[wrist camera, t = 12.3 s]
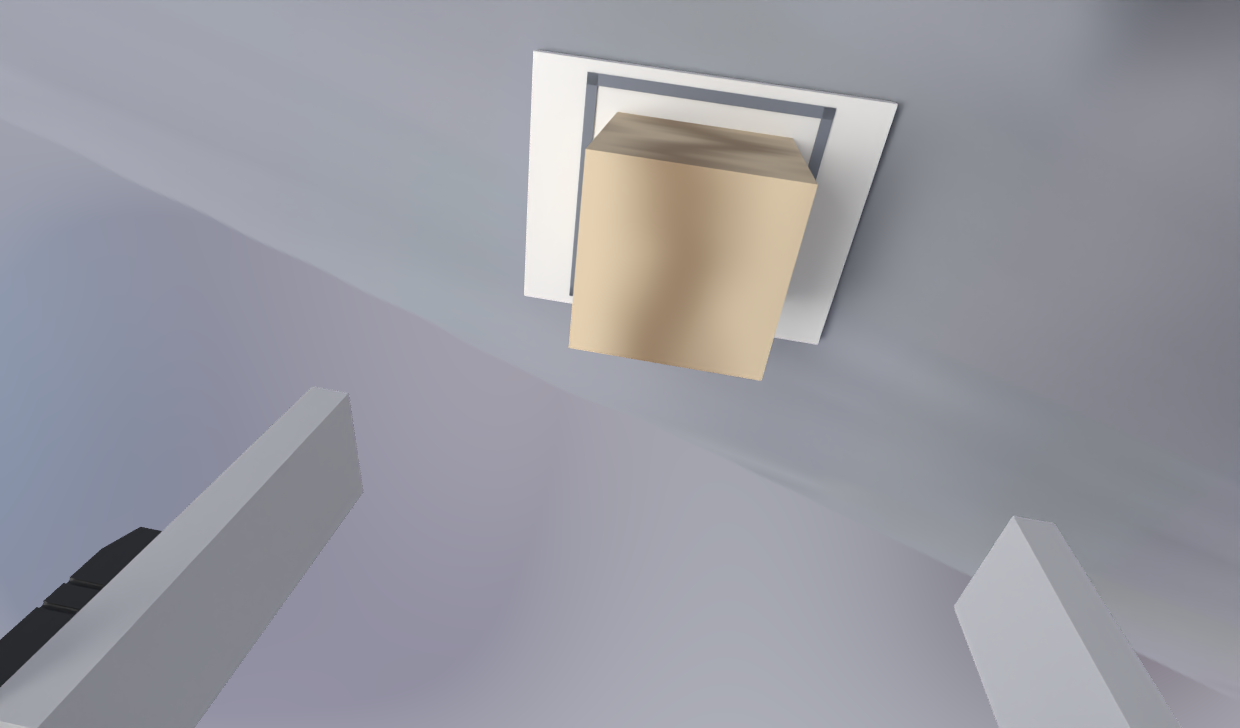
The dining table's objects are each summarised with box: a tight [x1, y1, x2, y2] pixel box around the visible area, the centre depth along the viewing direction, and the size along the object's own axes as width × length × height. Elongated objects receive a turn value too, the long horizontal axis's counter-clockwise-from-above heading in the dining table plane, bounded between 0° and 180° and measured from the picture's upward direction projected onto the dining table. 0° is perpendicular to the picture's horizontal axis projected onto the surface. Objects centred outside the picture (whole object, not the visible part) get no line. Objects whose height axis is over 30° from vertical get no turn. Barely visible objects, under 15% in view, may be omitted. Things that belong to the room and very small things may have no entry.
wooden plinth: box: [569, 112, 818, 381], centre depth 26 cm, size 8×8×8 cm
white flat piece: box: [524, 50, 898, 345], centre depth 30 cm, size 16×12×1 cm
